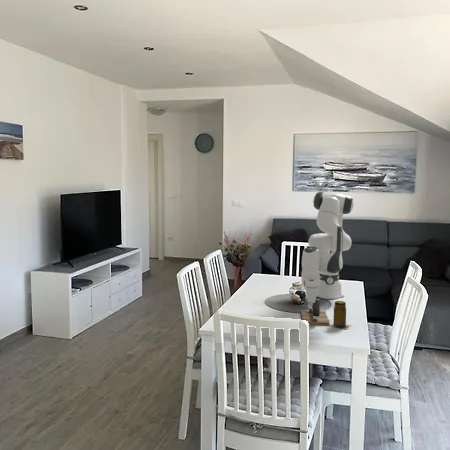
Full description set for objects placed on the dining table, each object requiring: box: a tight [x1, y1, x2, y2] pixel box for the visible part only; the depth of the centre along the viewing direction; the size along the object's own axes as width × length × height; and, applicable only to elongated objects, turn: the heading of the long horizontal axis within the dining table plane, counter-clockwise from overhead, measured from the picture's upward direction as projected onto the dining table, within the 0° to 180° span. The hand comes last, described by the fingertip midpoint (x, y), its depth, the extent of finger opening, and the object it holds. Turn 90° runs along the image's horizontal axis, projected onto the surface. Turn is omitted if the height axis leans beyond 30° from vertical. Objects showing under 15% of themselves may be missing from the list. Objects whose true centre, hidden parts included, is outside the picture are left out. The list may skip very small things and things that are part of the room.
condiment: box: [329, 300, 353, 330], centre depth 226 cm, size 7×8×12 cm
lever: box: [308, 298, 321, 319], centre depth 236 cm, size 19×4×10 cm, turn 174°
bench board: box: [300, 309, 331, 327], centre depth 237 cm, size 20×13×2 cm, turn 174°
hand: (309, 306), depth 229 cm, fingers open, 3 cm apart
